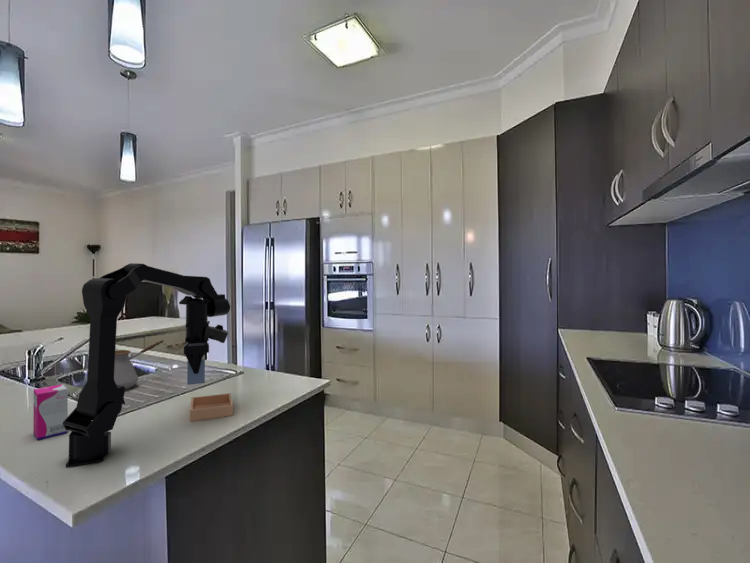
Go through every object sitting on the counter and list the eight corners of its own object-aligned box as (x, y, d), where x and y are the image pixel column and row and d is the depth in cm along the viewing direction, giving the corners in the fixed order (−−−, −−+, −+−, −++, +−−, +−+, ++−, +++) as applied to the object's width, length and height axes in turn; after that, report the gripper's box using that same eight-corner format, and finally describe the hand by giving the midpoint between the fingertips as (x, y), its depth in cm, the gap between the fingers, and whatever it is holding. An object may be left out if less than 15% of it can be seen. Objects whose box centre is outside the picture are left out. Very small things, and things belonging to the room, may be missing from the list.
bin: (189, 421, 99) (190, 410, 99) (191, 407, 109) (191, 397, 109) (232, 415, 104) (233, 405, 103) (230, 402, 114) (230, 393, 114)
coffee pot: (107, 396, 116) (108, 350, 116) (91, 389, 122) (92, 346, 122) (172, 380, 135) (173, 341, 134) (156, 375, 141) (157, 338, 140)
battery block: (187, 384, 101) (187, 357, 101) (187, 380, 105) (187, 353, 105) (204, 382, 103) (204, 355, 103) (204, 378, 107) (204, 352, 107)
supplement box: (62, 426, 93) (63, 383, 93) (67, 433, 89) (68, 388, 89) (32, 433, 89) (33, 388, 89) (36, 441, 85) (37, 393, 85)
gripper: (228, 322, 99) (228, 377, 100) (224, 314, 116) (223, 361, 116) (183, 324, 94) (183, 381, 95) (185, 315, 111) (185, 364, 111)
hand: (196, 371), depth 104 cm, fingers closed on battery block, 4 cm apart
